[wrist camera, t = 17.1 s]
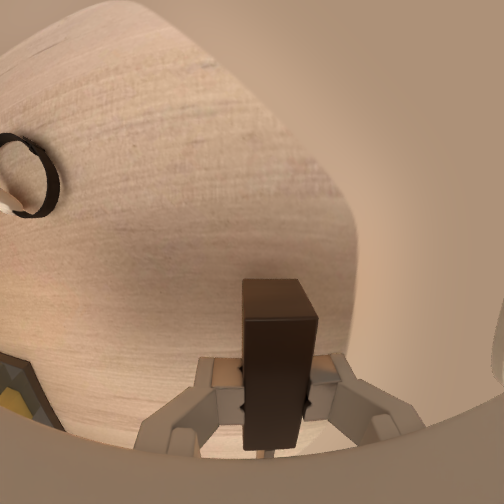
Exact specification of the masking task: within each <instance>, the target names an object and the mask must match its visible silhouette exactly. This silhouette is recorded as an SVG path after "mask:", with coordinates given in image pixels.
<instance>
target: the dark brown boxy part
mask: <svg viewBox="0 0 504 504" xmlns="http://www.w3.org/2000/svg"><path fill="white" fill-rule="evenodd" d="M318 319H319V318H318V315H317V314H316V312H315V310H314V308H313V306H312V304H311V302H310V301H309V299H308V297H307V295H306V293H305V291H304V290H303V288H302V286H301V284H300V282H299V280H298V279H243V280H242V358H243V379H244V425H242V430H243V449H244V450H245V451H255V450H257V452H256V459H259V458H274V452H275V450H277V449H290V448H295V446H296V442H297V438H298V433H299V429H300V424H301V419H302V412H303V407H304V402H305V399H306V394H307V393H306V390H307V385H308V379H309V377H310V372H311V366H312V360H313V354H314V347H315V341H316V334H317V327H318Z"/></svg>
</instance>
